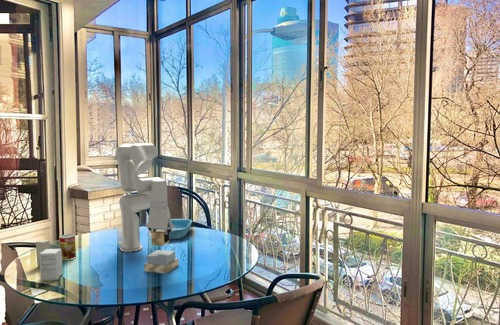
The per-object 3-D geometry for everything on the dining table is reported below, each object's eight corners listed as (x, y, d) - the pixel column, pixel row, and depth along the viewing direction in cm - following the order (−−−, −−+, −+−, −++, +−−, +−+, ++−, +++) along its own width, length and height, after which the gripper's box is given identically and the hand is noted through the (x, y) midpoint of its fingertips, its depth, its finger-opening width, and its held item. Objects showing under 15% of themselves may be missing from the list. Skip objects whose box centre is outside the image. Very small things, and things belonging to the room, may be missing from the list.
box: (51, 265, 202) (50, 240, 202) (44, 267, 198) (43, 242, 197) (43, 264, 204) (42, 239, 203) (36, 266, 200) (35, 241, 199)
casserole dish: (162, 228, 281) (162, 218, 281) (194, 227, 281) (194, 217, 280) (148, 242, 245) (148, 230, 244) (185, 241, 244) (184, 230, 244)
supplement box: (47, 275, 188) (45, 248, 187) (63, 274, 188) (62, 248, 188) (40, 280, 180) (38, 253, 180) (57, 280, 181) (55, 252, 180)
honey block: (151, 244, 193) (151, 232, 192) (158, 241, 199) (158, 229, 198) (162, 245, 191) (162, 233, 191) (169, 242, 197) (168, 230, 196)
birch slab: (144, 272, 192) (144, 264, 192) (157, 264, 203) (157, 256, 203) (166, 274, 188) (166, 266, 188) (178, 266, 200) (178, 258, 199)
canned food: (69, 260, 209) (68, 238, 208) (56, 259, 211) (55, 237, 210) (79, 256, 217) (78, 234, 216) (66, 255, 218) (65, 233, 218)
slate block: (147, 264, 192) (147, 255, 191) (156, 257, 201) (156, 249, 201) (166, 265, 189) (166, 257, 189) (175, 258, 199) (175, 251, 199)
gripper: (139, 205, 193) (140, 242, 194) (171, 207, 187) (172, 244, 188) (148, 202, 200) (149, 238, 201) (179, 204, 194) (180, 240, 196)
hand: (160, 241), depth 195 cm, fingers closed on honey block, 6 cm apart
